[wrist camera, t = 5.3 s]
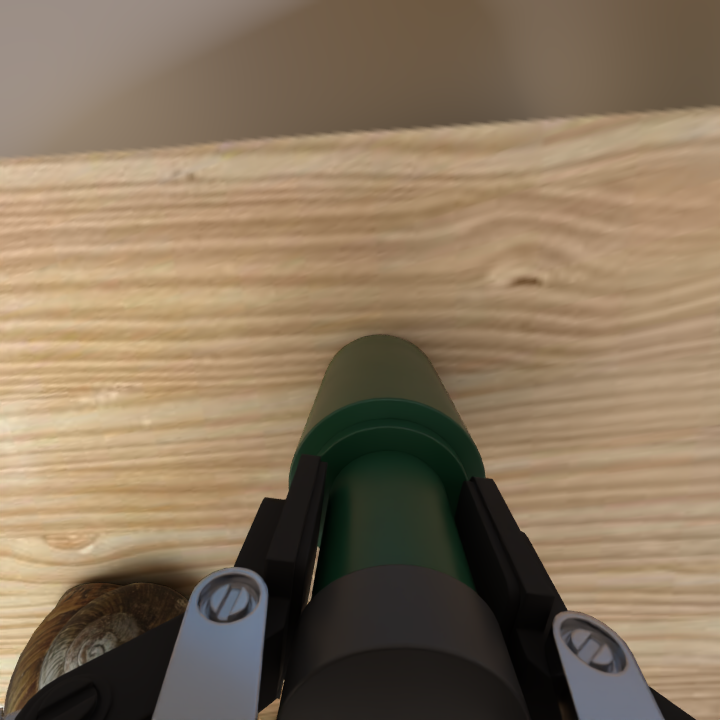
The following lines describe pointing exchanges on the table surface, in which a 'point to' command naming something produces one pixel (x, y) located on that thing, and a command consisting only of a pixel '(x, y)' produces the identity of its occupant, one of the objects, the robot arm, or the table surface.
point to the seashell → (88, 631)
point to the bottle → (393, 555)
